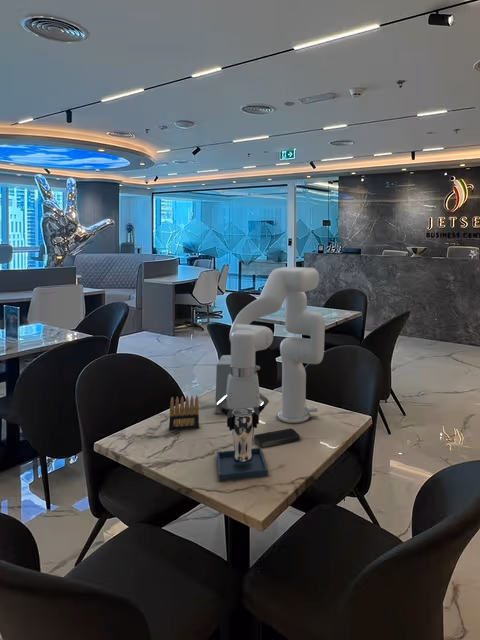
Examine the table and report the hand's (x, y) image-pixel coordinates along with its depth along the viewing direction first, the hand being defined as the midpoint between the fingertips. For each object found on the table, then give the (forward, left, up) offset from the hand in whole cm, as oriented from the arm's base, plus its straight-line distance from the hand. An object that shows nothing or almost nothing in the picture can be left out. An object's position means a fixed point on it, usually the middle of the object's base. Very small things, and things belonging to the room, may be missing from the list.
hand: (242, 427), depth 136 cm
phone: (-14, -16, -12) cm, 24 cm away
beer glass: (0, 0, -10) cm, 10 cm away
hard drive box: (+1, -50, -12) cm, 51 cm away
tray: (0, 0, -12) cm, 12 cm away
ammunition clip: (+18, -32, -12) cm, 38 cm away
